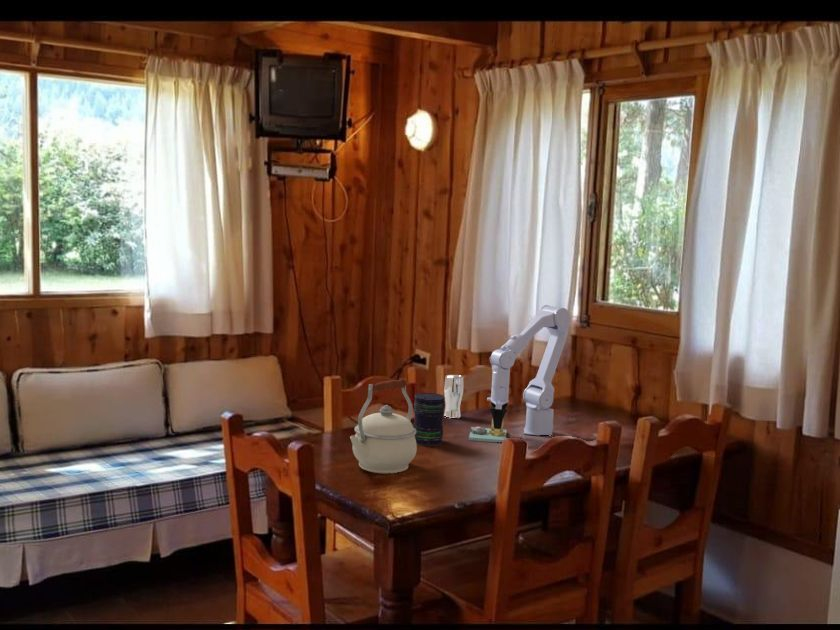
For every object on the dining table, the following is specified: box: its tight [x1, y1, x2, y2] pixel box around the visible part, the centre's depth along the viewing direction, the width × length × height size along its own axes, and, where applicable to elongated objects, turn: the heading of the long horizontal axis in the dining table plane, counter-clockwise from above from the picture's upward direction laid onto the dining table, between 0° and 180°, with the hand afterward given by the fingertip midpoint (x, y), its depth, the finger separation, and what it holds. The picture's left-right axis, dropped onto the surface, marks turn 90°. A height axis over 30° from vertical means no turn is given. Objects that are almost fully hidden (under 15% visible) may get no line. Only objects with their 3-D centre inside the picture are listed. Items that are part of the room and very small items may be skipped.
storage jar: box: [412, 392, 446, 447], centre depth 265 cm, size 10×10×15 cm
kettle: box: [349, 377, 418, 475], centre depth 234 cm, size 25×18×25 cm
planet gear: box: [489, 417, 505, 436], centre depth 275 cm, size 5×5×5 cm
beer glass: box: [443, 374, 465, 419], centre depth 301 cm, size 7×7×15 cm
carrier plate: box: [468, 426, 507, 443], centre depth 276 cm, size 12×14×4 cm
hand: (497, 425), depth 275 cm, fingers open, 7 cm apart
